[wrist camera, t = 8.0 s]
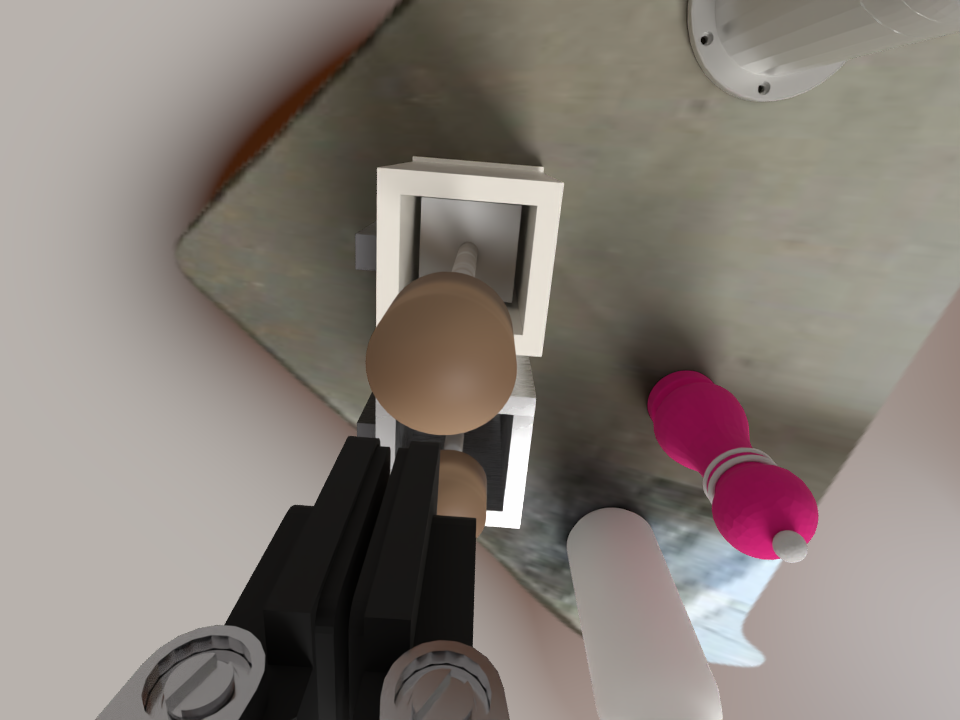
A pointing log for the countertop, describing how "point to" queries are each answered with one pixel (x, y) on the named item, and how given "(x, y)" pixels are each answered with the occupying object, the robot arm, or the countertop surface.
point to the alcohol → (636, 624)
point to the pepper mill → (732, 468)
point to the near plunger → (451, 322)
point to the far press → (478, 445)
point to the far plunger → (461, 483)
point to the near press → (403, 186)
